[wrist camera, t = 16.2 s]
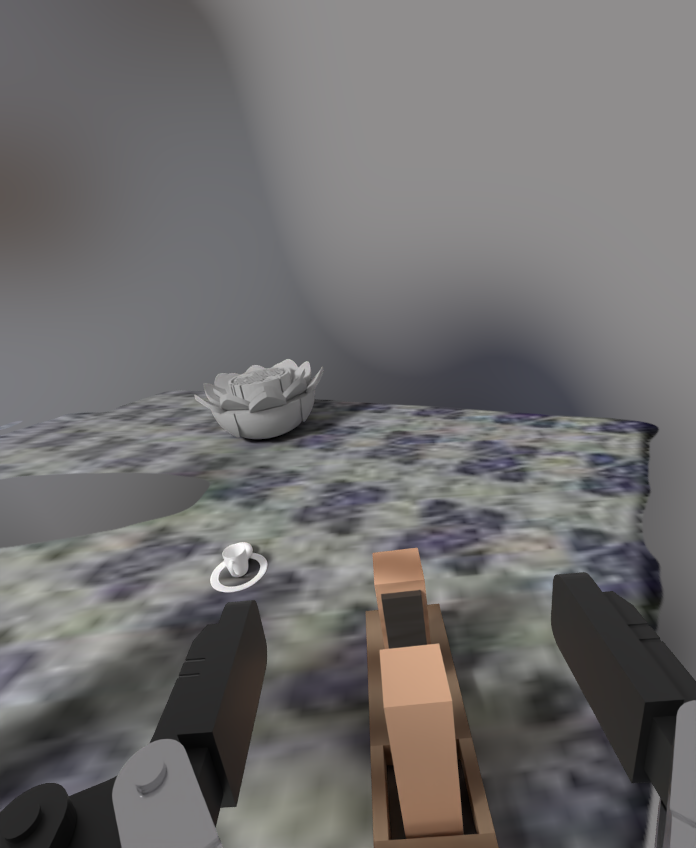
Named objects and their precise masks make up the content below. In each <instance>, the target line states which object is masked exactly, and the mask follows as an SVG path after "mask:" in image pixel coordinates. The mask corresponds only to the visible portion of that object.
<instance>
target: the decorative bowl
mask: <svg viewBox="0 0 696 848" xmlns="http://www.w3.org/2000/svg"><path fill="white" fill-rule="evenodd" d="M322 374H323V367H322V368H321V370H320V371H319V372H318V374H317V375H316V376H315V377H314V378H313V379H312V380H311V369H310V364H309V362H308V361H307V362H304V363H303V364H302V365H301V366H300V367H299V368H298V366H297V365H296V364H295V363H294V362H293V361H292V360H289V359H287V360H284V361H283V362H281V363H278V364H276V365H274V366H273V367H272V368H267V369H265V368H263V367H261V366H258V365H253V366H251V367H250V368H249V369H248V370H247V371H246V372H245V373H244V374H242V375H239V374H236V373H230V374H225V373H219V374H218V375H217V376H216V378H215V383H214V385H211V384H209V383H204V390H205V393H206V396H207V397H208V399H209V400H210V401H211V402H208V401H205V400H202V399H201V398H200V397H198V396H196V395H195V394H194V395H195V399H196V400H197V401H198V402H199V403H201V404H202V405H204V406H206V407H207V408H209V409H211V411H212V413H213V415H214V417H215V419H216V421H217V422H218V423H219V425H220V426H221V427H222V428H223V429H224V430H226V431H227V432H228V433H230V434H231V435H233V436H235V437H238V438H239V437H240V436H241V437H244V438H249V439H267V438H272V437H276V436H280V435H282V434H285V433H287V432H289V431H291V430H292V429H294V428H295V427H297V426H298V425H299V424H300V423H301V422H302V421H303V422H305V420H306V419H307V418H308V416H309V414H310V412H311V410H312V407H313V404H314V399H315V387H316V386H317V384H318V383H319V381H320V379H321V377H322Z"/></svg>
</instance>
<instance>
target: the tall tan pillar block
mask: <svg viewBox="0 0 696 848" xmlns="http://www.w3.org/2000/svg"><path fill="white" fill-rule="evenodd" d="M379 651H380V664H381V677H382V691H383V704H384V712H385V718H386V724H387V730H388V736H389V741H390V747H391V753H392V759H393V765H394V771H395V777H396V783H397V789H398V795H399V801H400V807H401V812H402V818H403V824H404V830H405V836H406V839H414V838H428V837H443V836H457V835H464V833H463V821H462V810H461V798H460V786H459V775H458V763H457V751H456V740H455V728H454V717H453V705H452V698H451V694H450V689H449V685H448V681H447V676H446V672H445V668H444V663H443V659H442V654H441V650H440V646H439V644H430V645H420V646H411V647H401V648H392V649H383V650H379Z"/></svg>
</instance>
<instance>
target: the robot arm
mask: <svg viewBox="0 0 696 848" xmlns="http://www.w3.org/2000/svg"><path fill="white" fill-rule="evenodd" d="M551 625H552V631H553V635H554V638H555V641H556V643H557V645H558V647H559V649H560V651H561V653H562V655H563V657H564V659H565V660H566V662H567V664H568V666H569V668H570V670H571V671H572V673H573V675H574V677H575V679H576V681H577V683H578V684H579V686H580V688H581V690H582V692H583V694H584V696H585V697H586V699H587V701H588V703H589V705H590V707H591V708H592V710H593V712H594V714H595V716H596V718H597V720H598V721H599V723H600V725H601V727H602V729H603V731H604V733H605V734H606V736H607V738H608V740H609V742H610V744H611V746H612V747H613V749H614V751H615V753H616V755H617V757H618V758H619V760H620V762H621V764H622V766H623V768H624V770H625V771H626V773H627V775H628V777H629V779H630V781H631V783H643V782H652V784H653V786H654V788H655V789H656V791H657V793H658V794H659V796H660V802H659V808H658V818H657V828H656V838H655V848H696V681H695V680H694V679H693V677H692V676H691V675H690V674H689V672H688V671H687V670H686V669H685V668H684V666H683V665H682V664H681V663H680V662H679V660H678V659H677V658H676V657H675V655H674V654H673V653H672V652H671V651H670V649H669V648H668V647H667V646H666V645H665V643H664V642H663V641H662V642H661V640H660V637H659V636H658V635H657V634H656V632H655V631H654V630H653V629H652V628H651V627H649V626H648V623H647V622H646V620H645V619H644V618H643V617H642V615H641V614H640V613H639V612H638V611H637V609H636V608H635V607H634V606H633V605H632V604H630V603H629V602H627V601H626V600H625V599H623V598H622V597H620V596H619V595H617V594H616V593H614V592H613V591H610V592H602V591H601V590H600V588H599V587H598V586H597V584H596V583H595V582H594V580H593V579H592V578H591V577H590V575H589V574H587V573H585V572H582V573H570V574H559V575H555V576H554V579H553V592H552V610H551ZM185 660H186V662H185V663H184V664H183V666H182V669H181V671H180V674H179V679H177V681H176V683H175V685H174V688H173V690H172V692H171V695H170V697H169V700H168V702H167V704H166V707H165V709H164V711H163V714H162V716H161V718H160V721H159V723H158V726H157V728H156V730H155V733H154V735H153V737H152V739H151V741H150V743H149V744H147V745H146V746H144V747H142V748H141V749H140V750H138V751H137V752H136V753H135V754H134V755H132V756H131V757H130V759H129V760H128V761H127V762H126V763H125V765H124V766H123V767H122V769H121V770H120V772H119V774H118V775H117V776H116V777H114V778H112V779H110V780H108V781H105V782H103V783H100V784H98V785H96V786H93V787H91V788H88V789H86V790H83V791H81V792H78V793H76V794H73V795H71V796H68V794H67V792H66V790H65V789H64V788H63V787H62V786H61V785H59V784H56V783H46V784H41V785H38V786H36V787H33V788H31V789H29V790H27V791H26V792H24V793H23V794H21V795H20V796H18V797H17V798H16V799H14V800H13V801H12V802H11V803H10V804H8V805H7V806H6V807H5V808H4V809H3V810H2V811H1V812H0V848H223V846H222V843H221V841H220V838H219V836H218V834H217V831H216V829H215V828H216V824H217V819H218V815H219V811H220V808H223V807H236V806H237V801H238V797H239V792H240V787H241V783H242V778H243V773H244V769H245V764H246V759H247V755H248V750H249V745H250V740H251V736H252V731H253V726H254V722H255V717H256V712H257V708H258V703H259V698H260V694H261V689H262V684H263V680H264V675H265V670H266V664H267V645H266V639H265V635H264V631H263V627H262V622H261V618H260V614H259V610H258V606H257V603H256V601H255V600H251V601H240V602H228V603H227V604H226V605H225V607H224V610H223V612H222V615H221V618H220V620H219V623H218V624H210V625H207V626H206V627H205V628H204V629H203V630H202V632H201V633H200V634H199V635H198V636H197V637H196V638H195V640H194V641H193V643H192V645H191V647H190V650H189V652H188V655H187V657H186V659H185Z"/></svg>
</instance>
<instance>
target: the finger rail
mask: <svg viewBox="0 0 696 848" xmlns="http://www.w3.org/2000/svg"><path fill="white" fill-rule="evenodd" d="M373 567H374V583H375V590H376V597H377V603H378V610H374V611H366V633H367V662H368V692H369V721H370V750H371V780H372V809H373V838H374V848H499V847H498V843H497V839H496V835H495V831H494V827H493V823H492V819H491V814H490V810H489V806H488V802H487V798H486V794H485V790H484V786H483V782H482V778H481V774H480V769H479V765H478V761H477V757H476V753H475V749H474V745H473V741H472V737H471V733H470V729H469V724H468V720H467V716H466V712H465V708H464V704H463V700H462V696H461V692H460V688H459V683H458V679H457V675H456V671H455V667H454V663H453V659H452V655H451V651H450V647H449V643H448V638H447V634H446V630H445V626H444V622H443V618H442V614H441V610H440V606H439V604H431V605H427V600H426V590H425V580H424V575H423V571H422V566H421V562H420V557H419V552H418V548H412V549H403V550H394V551H386V552H377V553H373ZM430 644H439V646H440V650H441V654H442V659H443V663H444V668H445V672H446V676H447V681H448V685H449V689H450V694H451V698H452V705H453V717H454V728H455V740H456V751H457V760H459V759H461V764H462V768H463V773H464V778H465V783H466V787H467V792H468V797H469V801H470V806H471V811H472V816H473V820H474V825H475V830H476V834H471V835H457V836H443V837H428V838H414V839H400V840H391V828H390V813H389V797H388V782H387V766H386V765H393V759H392V753H391V747H390V741H389V736H388V730H387V724H386V718H385V712H384V704H383V691H382V677H381V664H380V651H379V650H383V649H392V648H401V647H411V646H420V645H430Z"/></svg>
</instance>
